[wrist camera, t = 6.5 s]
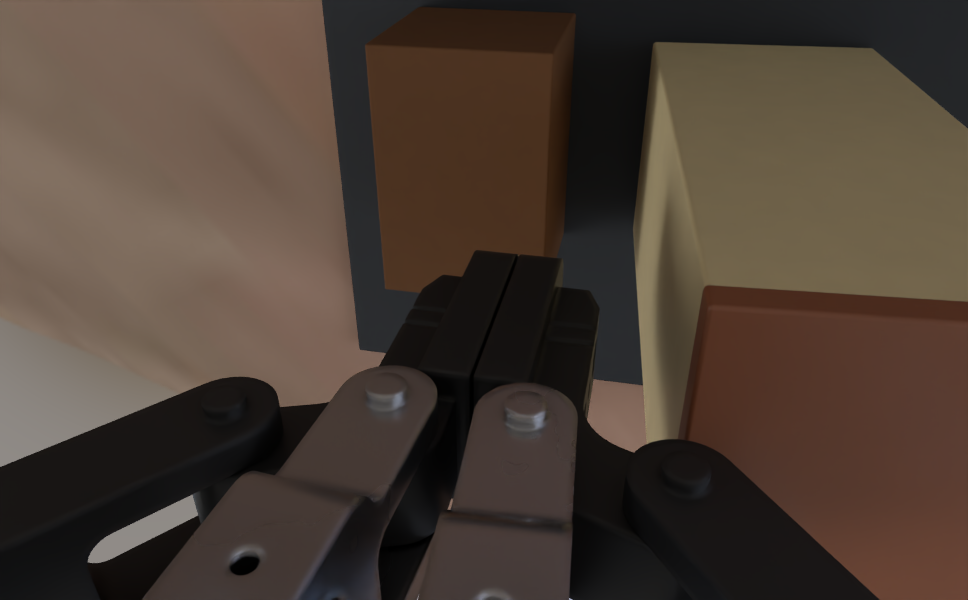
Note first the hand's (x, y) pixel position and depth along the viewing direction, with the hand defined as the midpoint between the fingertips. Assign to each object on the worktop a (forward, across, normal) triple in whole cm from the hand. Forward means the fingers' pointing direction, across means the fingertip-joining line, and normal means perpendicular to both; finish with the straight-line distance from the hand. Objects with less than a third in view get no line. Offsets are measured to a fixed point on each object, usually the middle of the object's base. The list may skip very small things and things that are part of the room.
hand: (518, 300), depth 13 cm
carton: (+8, -2, 0) cm, 8 cm away
